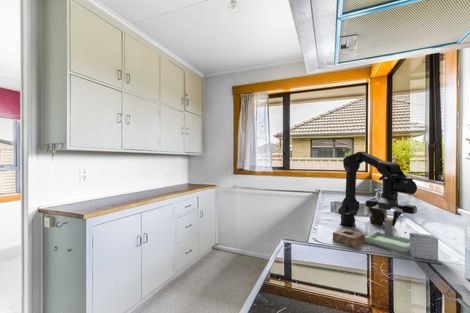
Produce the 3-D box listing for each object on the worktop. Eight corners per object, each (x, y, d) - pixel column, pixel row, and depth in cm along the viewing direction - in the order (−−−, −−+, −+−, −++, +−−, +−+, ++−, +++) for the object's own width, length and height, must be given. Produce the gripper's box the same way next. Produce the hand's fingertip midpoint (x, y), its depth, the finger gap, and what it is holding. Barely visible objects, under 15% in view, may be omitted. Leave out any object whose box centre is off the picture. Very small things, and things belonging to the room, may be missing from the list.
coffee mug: (368, 220, 140) (368, 204, 139) (384, 223, 135) (384, 206, 135) (368, 225, 129) (368, 208, 129) (386, 228, 125) (386, 210, 125)
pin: (384, 235, 103) (384, 217, 103) (386, 233, 105) (387, 216, 105) (392, 237, 101) (392, 219, 101) (394, 235, 103) (394, 218, 103)
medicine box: (432, 256, 91) (432, 234, 91) (438, 261, 86) (438, 238, 86) (409, 253, 93) (409, 232, 93) (413, 258, 89) (413, 236, 89)
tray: (364, 242, 105) (364, 236, 105) (376, 235, 114) (376, 230, 114) (406, 254, 93) (406, 247, 92) (415, 245, 101) (415, 240, 101)
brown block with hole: (332, 240, 107) (332, 232, 107) (342, 236, 113) (343, 228, 113) (354, 247, 99) (354, 238, 99) (364, 242, 105) (364, 233, 105)
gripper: (360, 190, 105) (360, 223, 105) (409, 195, 91) (409, 234, 91) (370, 187, 112) (370, 219, 112) (417, 192, 98) (417, 228, 98)
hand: (389, 225), depth 103 cm, fingers closed on pin, 3 cm apart
